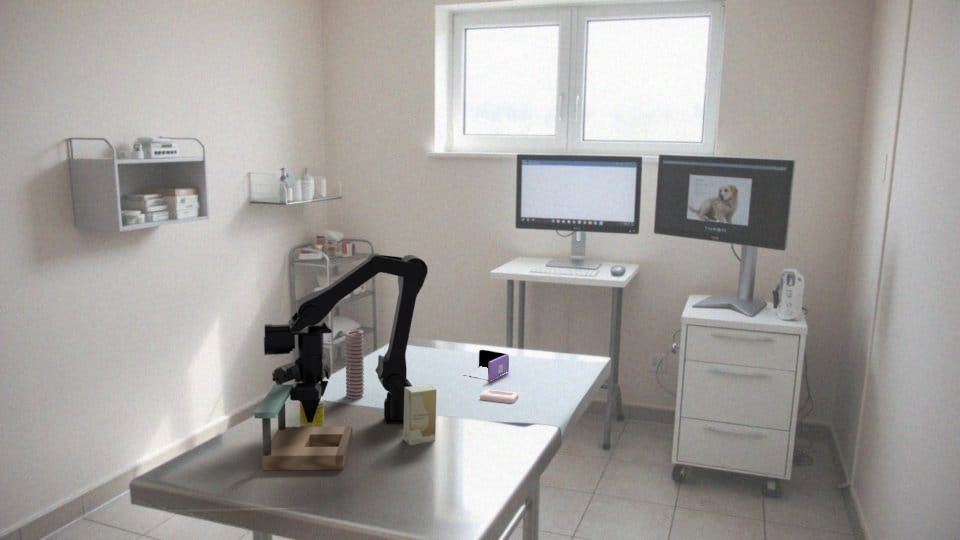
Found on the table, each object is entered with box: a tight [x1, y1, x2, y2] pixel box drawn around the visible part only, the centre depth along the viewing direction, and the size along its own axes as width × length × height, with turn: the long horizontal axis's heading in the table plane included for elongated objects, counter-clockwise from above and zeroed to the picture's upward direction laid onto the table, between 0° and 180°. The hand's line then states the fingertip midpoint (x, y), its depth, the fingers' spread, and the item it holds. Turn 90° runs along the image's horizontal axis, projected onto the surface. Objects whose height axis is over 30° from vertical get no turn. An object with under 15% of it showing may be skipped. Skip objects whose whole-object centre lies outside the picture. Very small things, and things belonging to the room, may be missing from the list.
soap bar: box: [479, 389, 519, 404], centre depth 191 cm, size 5×9×2 cm, turn 71°
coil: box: [344, 329, 365, 400], centre depth 190 cm, size 5×5×18 cm
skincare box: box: [402, 384, 437, 446], centre depth 162 cm, size 6×4×12 cm
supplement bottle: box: [299, 396, 325, 427], centre depth 169 cm, size 5×5×10 cm
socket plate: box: [253, 384, 353, 471], centre depth 154 cm, size 17×18×12 cm
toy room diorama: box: [478, 349, 510, 382], centre depth 211 cm, size 12×12×7 cm
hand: (312, 417), depth 169 cm, fingers closed on supplement bottle, 5 cm apart
